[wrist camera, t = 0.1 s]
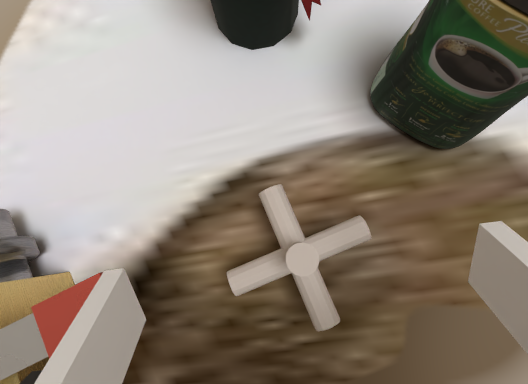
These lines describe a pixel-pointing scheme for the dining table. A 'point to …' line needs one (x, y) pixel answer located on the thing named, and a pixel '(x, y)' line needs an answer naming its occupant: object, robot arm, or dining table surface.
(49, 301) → the lever
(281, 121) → the dining table surface
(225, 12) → the wine bottle
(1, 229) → the pipe
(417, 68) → the coffee jar
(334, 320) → the pipe connector
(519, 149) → the dining table surface
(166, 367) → the dining table surface
